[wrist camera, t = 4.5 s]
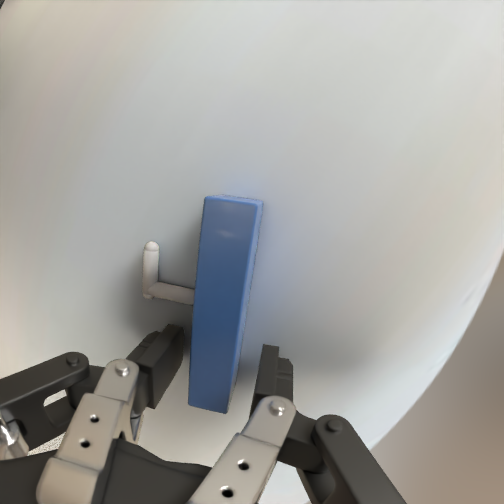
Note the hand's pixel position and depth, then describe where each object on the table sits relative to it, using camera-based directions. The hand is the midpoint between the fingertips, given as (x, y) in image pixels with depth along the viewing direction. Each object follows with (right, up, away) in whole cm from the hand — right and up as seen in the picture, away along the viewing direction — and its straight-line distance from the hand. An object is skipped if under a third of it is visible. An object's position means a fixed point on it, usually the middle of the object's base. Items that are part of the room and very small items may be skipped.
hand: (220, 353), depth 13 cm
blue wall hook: (-1, +3, 0) cm, 3 cm away
